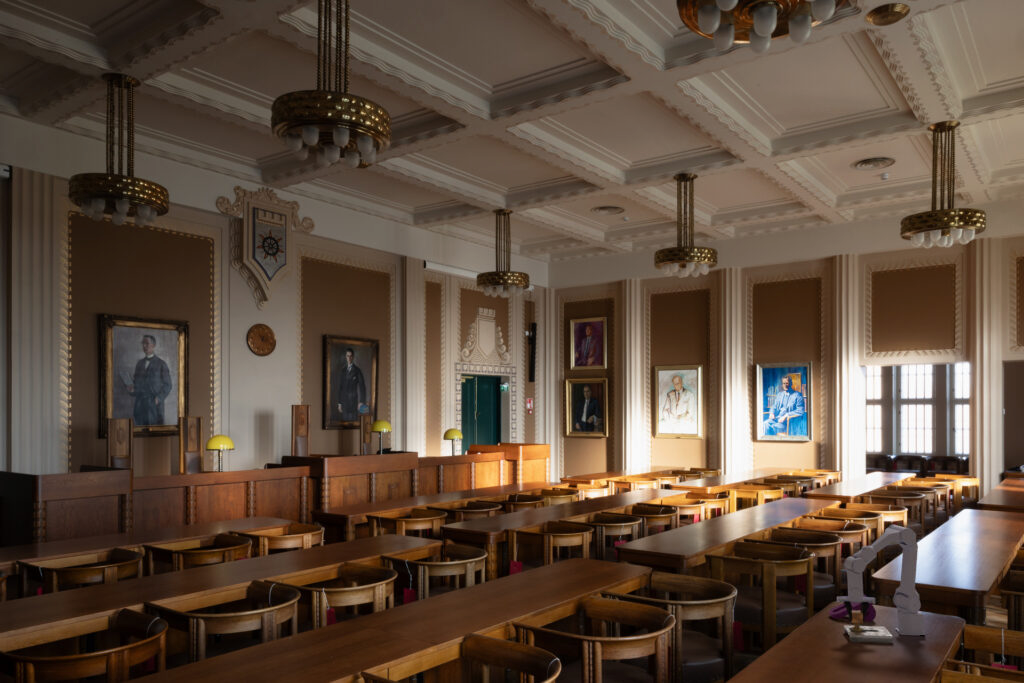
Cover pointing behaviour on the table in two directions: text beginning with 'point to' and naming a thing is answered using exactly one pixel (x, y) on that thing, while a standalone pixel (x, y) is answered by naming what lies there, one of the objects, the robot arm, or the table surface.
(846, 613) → the mounting bracket
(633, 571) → the table surface
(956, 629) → the table surface
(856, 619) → the keyhole peg
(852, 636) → the keyhole plate
